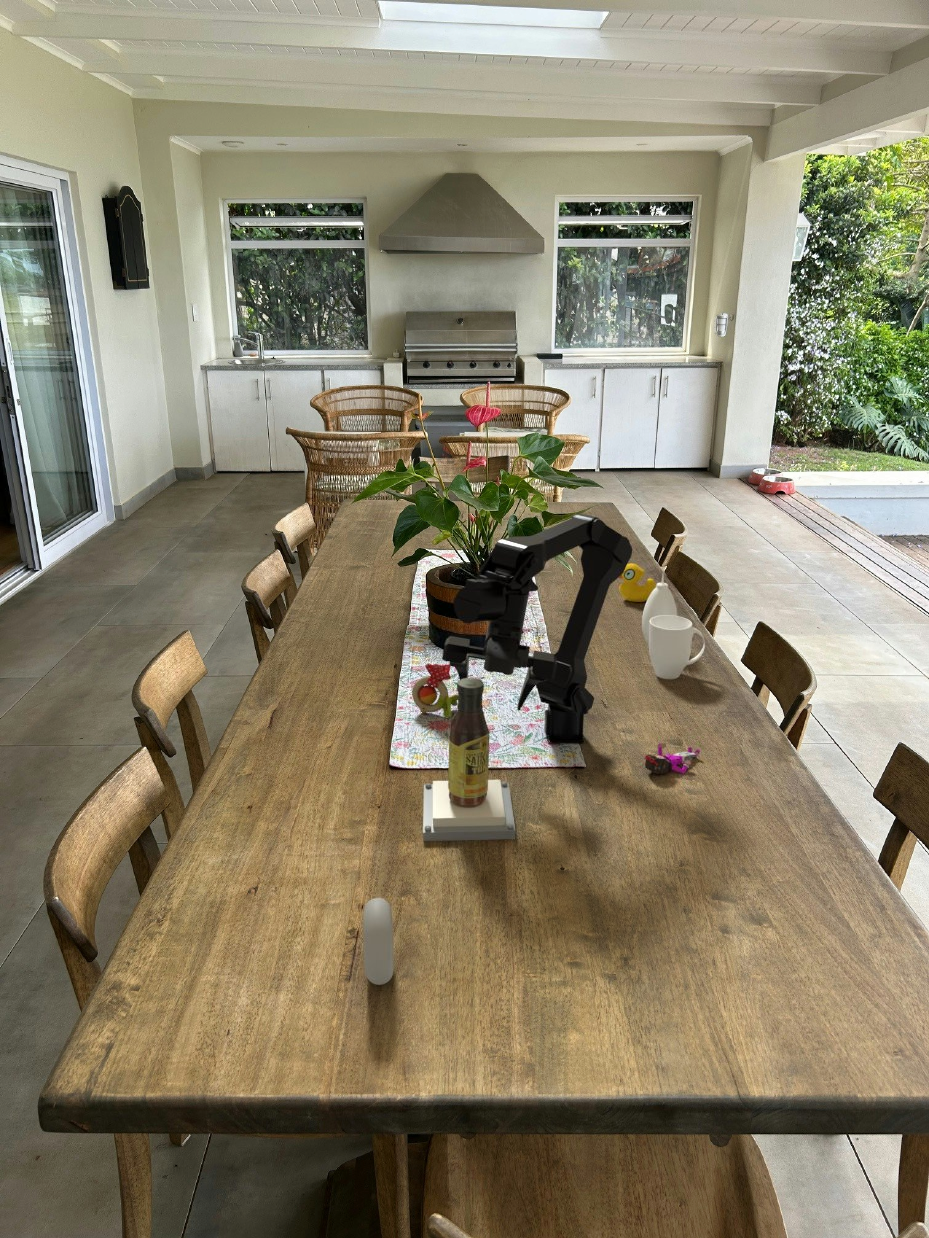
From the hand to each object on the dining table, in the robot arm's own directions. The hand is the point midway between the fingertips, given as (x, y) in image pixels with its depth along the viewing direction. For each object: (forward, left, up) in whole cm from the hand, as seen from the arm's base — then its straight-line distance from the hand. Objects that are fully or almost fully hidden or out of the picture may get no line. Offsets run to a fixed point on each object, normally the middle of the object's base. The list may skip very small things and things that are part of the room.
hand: (491, 704), depth 155 cm
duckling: (-43, -86, -13) cm, 97 cm away
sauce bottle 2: (-42, -54, -13) cm, 69 cm away
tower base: (+5, +14, -13) cm, 19 cm away
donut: (+17, +49, -13) cm, 53 cm away
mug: (-41, -39, -13) cm, 58 cm away
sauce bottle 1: (+4, +14, -10) cm, 17 cm away
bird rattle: (+10, -22, -13) cm, 27 cm away
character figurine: (-32, 0, -13) cm, 34 cm away
